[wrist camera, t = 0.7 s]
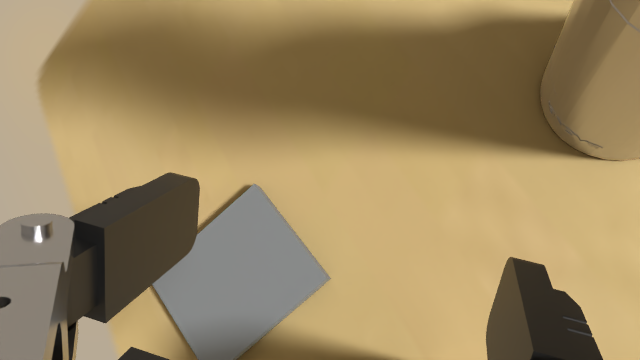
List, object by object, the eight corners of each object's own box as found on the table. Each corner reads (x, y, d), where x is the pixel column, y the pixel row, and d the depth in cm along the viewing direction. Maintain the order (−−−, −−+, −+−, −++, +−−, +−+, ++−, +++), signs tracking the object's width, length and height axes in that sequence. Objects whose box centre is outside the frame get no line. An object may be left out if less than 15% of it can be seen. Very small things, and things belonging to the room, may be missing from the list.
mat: (259, 186, 37) (254, 183, 36) (330, 278, 34) (327, 278, 33) (155, 278, 38) (148, 278, 37) (216, 376, 35) (209, 378, 34)
